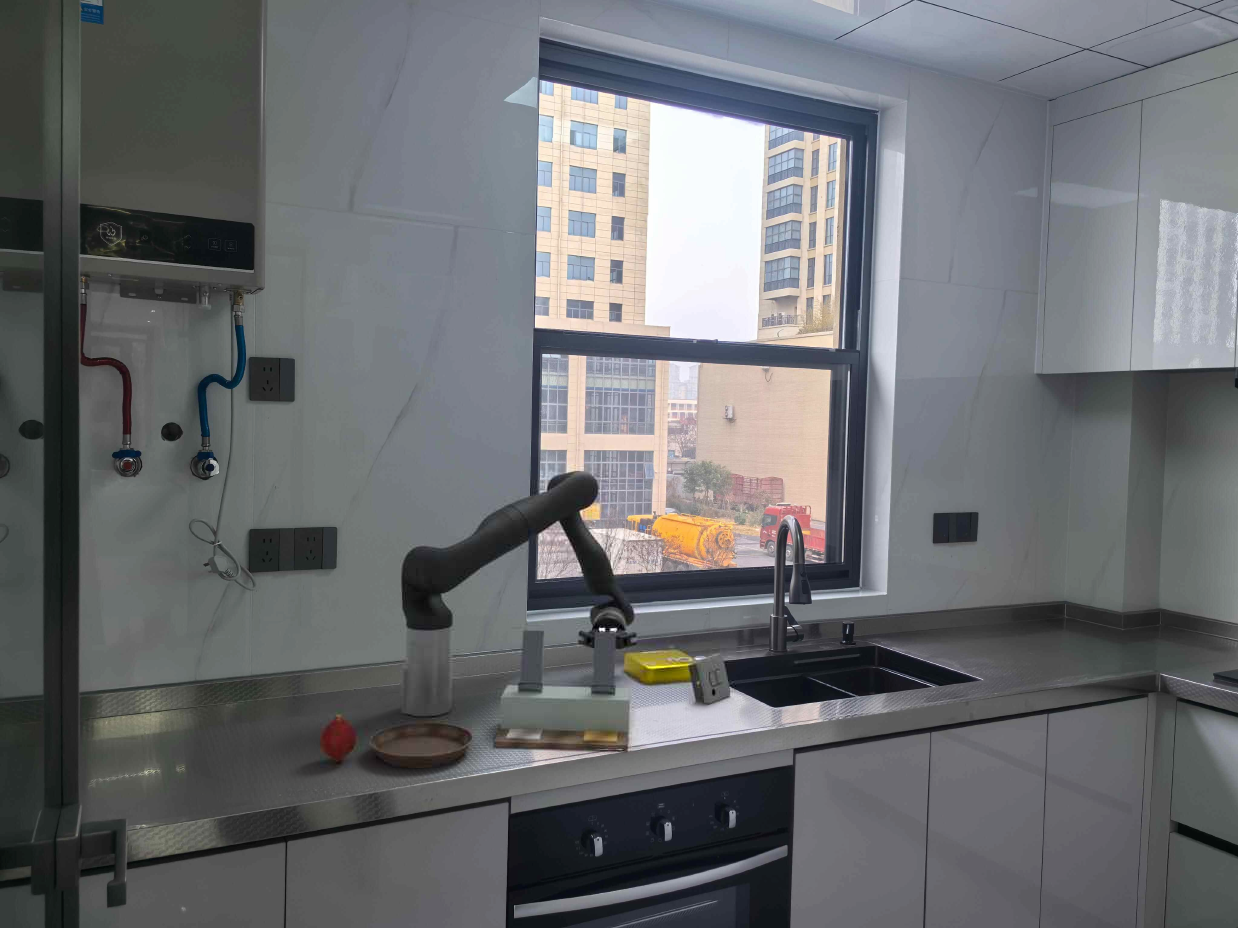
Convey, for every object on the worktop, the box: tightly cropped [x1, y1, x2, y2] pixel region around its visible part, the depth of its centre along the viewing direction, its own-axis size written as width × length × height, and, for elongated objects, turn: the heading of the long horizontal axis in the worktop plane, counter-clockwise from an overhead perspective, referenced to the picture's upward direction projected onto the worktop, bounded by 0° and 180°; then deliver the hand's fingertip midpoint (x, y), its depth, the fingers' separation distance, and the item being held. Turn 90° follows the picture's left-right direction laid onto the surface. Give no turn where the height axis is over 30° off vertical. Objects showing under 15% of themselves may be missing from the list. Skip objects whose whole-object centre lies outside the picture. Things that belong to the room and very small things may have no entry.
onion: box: [319, 714, 357, 763], centre depth 145 cm, size 6×6×8 cm
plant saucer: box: [368, 722, 474, 769], centre depth 149 cm, size 18×18×3 cm
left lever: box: [518, 629, 545, 691], centre depth 165 cm, size 5×2×11 cm, turn 88°
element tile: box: [624, 649, 698, 685], centre depth 205 cm, size 15×15×5 cm
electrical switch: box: [688, 653, 731, 705], centre depth 186 cm, size 9×5×9 cm, turn 141°
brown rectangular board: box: [493, 728, 630, 750], centre depth 161 cm, size 24×16×1 cm, turn 88°
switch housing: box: [500, 684, 631, 732], centre depth 164 cm, size 24×8×6 cm, turn 88°
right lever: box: [590, 632, 617, 693], centre depth 165 cm, size 5×2×11 cm, turn 88°
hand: (605, 647), depth 171 cm, fingers closed
